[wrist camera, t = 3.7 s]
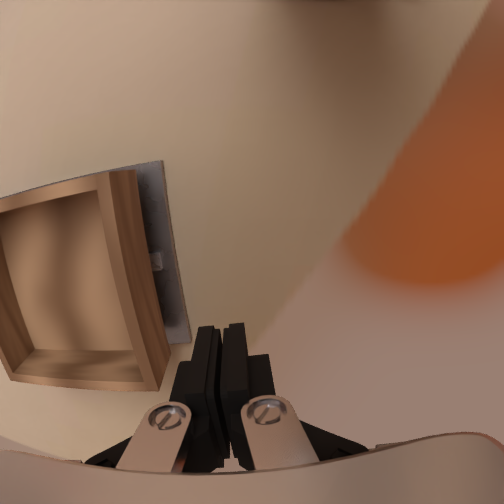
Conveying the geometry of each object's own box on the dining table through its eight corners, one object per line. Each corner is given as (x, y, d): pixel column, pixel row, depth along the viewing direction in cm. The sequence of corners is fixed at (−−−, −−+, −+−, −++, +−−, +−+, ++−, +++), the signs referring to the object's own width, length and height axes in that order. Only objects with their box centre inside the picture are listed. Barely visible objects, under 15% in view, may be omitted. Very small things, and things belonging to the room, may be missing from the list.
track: (162, 160, 22) (148, 160, 18) (191, 337, 26) (185, 363, 22) (-65, 222, 21) (-87, 229, 18) (-33, 336, 25) (-50, 350, 22)
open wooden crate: (144, 168, 21) (108, 171, 15) (175, 340, 25) (158, 391, 18) (7, 200, 21) (-44, 214, 15) (44, 342, 25) (10, 380, 18)
